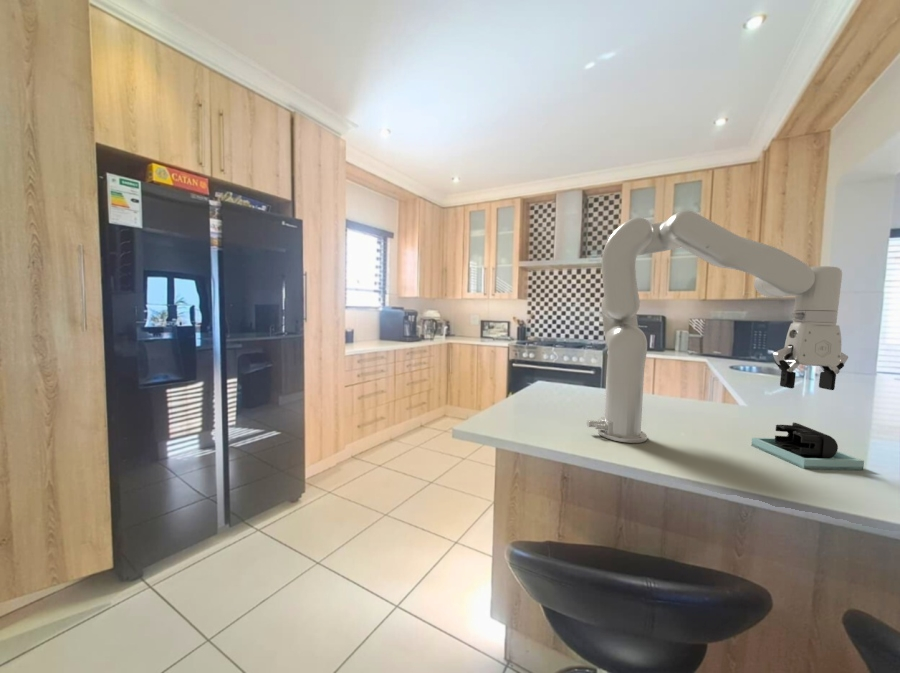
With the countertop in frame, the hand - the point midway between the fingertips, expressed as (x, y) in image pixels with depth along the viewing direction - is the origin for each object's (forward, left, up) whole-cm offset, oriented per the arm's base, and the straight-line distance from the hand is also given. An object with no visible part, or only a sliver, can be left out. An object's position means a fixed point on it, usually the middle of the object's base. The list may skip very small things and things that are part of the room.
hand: (806, 388), depth 90 cm
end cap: (0, 0, -17) cm, 17 cm away
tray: (0, 0, -17) cm, 17 cm away
